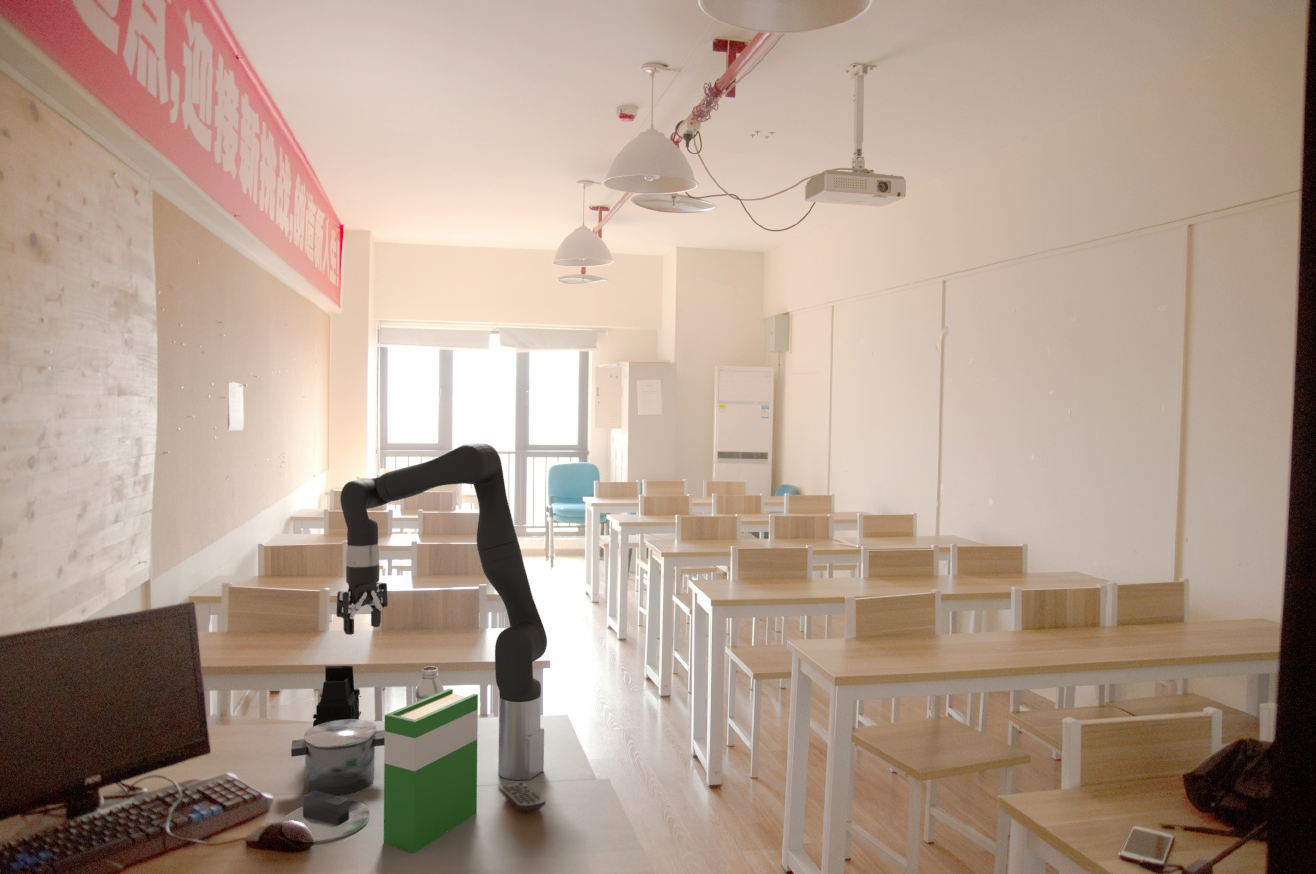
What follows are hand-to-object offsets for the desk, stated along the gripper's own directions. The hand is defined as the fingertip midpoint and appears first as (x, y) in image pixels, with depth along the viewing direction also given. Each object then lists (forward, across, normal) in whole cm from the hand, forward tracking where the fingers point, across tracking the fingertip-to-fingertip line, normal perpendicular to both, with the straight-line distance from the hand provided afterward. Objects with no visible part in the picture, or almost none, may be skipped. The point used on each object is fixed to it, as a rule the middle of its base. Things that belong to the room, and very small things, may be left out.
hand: (362, 630), depth 201 cm
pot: (+28, -17, -10) cm, 35 cm away
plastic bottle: (+28, +4, -17) cm, 33 cm away
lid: (+28, -32, -22) cm, 48 cm away
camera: (+28, -4, +4) cm, 29 cm away
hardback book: (+28, -25, -41) cm, 56 cm away
